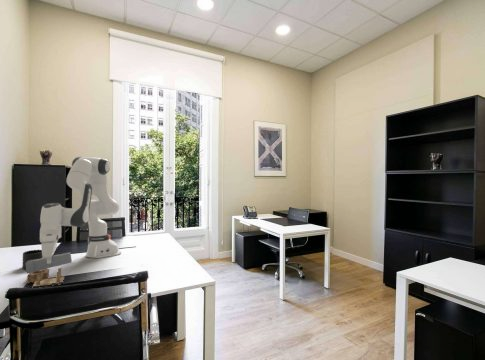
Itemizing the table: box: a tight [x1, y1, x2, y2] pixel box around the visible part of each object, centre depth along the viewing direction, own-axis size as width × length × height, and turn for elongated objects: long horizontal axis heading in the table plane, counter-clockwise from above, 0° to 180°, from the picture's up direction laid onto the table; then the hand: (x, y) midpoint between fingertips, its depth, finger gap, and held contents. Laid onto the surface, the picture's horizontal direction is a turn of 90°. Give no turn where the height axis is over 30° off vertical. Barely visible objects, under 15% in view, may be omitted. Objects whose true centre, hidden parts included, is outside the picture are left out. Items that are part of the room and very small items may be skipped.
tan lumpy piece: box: [26, 268, 50, 284], centre depth 132 cm, size 8×7×4 cm
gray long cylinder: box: [25, 251, 73, 275], centre depth 128 cm, size 18×5×5 cm, turn 121°
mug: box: [22, 249, 43, 270], centre depth 151 cm, size 9×12×9 cm
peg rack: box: [32, 267, 65, 287], centre depth 128 cm, size 12×8×6 cm, turn 121°
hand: (49, 261), depth 128 cm, fingers closed on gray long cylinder, 3 cm apart
